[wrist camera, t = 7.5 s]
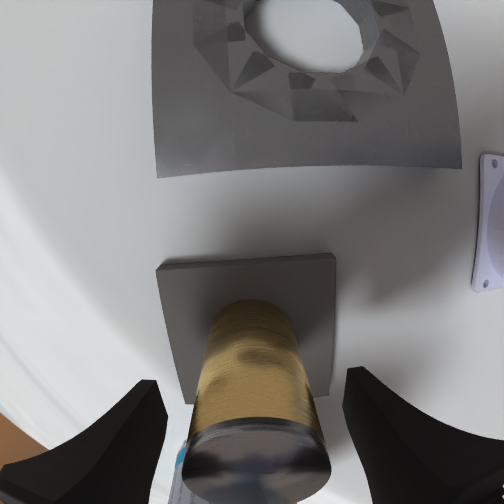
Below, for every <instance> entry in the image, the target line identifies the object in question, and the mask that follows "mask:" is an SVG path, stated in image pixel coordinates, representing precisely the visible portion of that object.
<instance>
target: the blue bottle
mask: <svg viewBox="0 0 504 504" xmlns="http://www.w3.org/2000/svg"><path fill="white" fill-rule="evenodd" d="M186 444H187V443H186ZM186 444H184V445H183V446H182V448H181V449H180V450H179V452H178V455H177V459H176V464H175V472H174V477H173V482H172V487H171V491H170V496H169V501H168V504H214V503H211V502H208V501H206V500H204V499H202V498H200V497H198V496H197V495H195V494H194V493H193V492H191V491H190V490H189V489H188V488H187V486H186V485H185V484H184V482H183V480H182V475H181V473H182V466H183V460H184V455H185V450H186ZM293 504H297V502H296V503H293Z"/></svg>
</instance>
